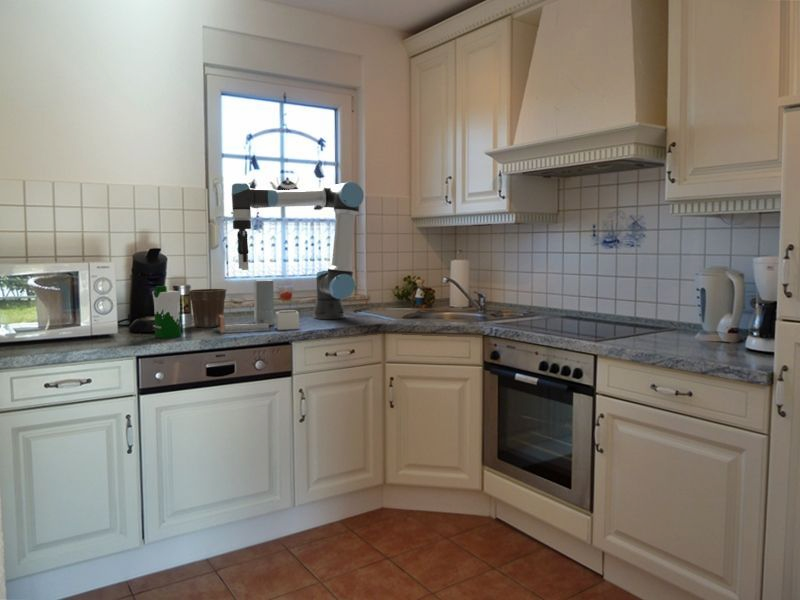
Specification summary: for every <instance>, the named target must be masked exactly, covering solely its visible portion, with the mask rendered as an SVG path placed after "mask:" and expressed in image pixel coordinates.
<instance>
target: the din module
mask: <svg viewBox="0 0 800 600" xmlns="http://www.w3.org/2000/svg"><path fill="white" fill-rule="evenodd" d="M274 314H275V315H274V322H275V323H274V324H275V329H277V331H281V330H282V331H283V330H296V329H297V330H298V329H300V313H299V311H297V310H295V309H291V310H290V309H287V310H286V309H285V310H277V311H274Z"/></svg>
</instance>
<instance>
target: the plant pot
mask: <svg viewBox="0 0 800 600" xmlns="http://www.w3.org/2000/svg"><path fill="white" fill-rule="evenodd" d="M187 291H188V292H189V298H190V301H191V307H192V316H193V323H194V325H193V326H194V327H195V328H216V327H218V315H219V314H222V315H223V317H224V315H225V302H226V301H225V300H226V296H227V295H226V294H227V291H228V290H227V288H201V289H199V288H198V289H197V288H196V289H190V290H187ZM224 318H225V317H224Z"/></svg>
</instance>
